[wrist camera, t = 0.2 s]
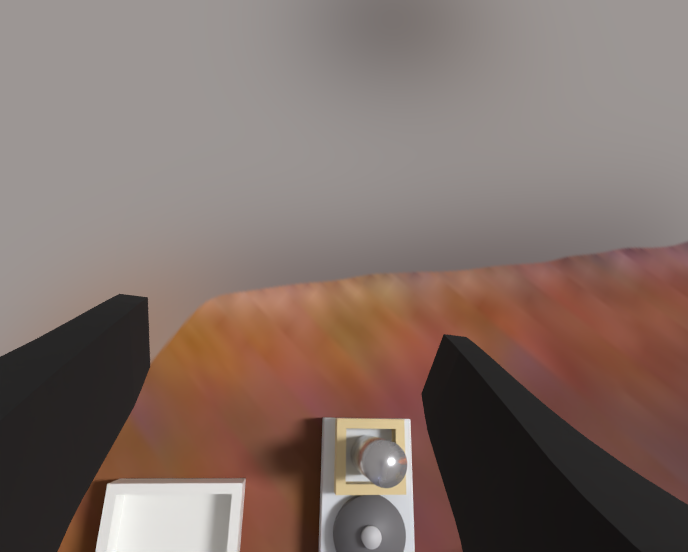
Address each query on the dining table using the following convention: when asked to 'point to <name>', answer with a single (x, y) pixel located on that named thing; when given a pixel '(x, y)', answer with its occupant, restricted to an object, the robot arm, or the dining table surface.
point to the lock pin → (379, 460)
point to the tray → (172, 515)
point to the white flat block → (363, 491)
